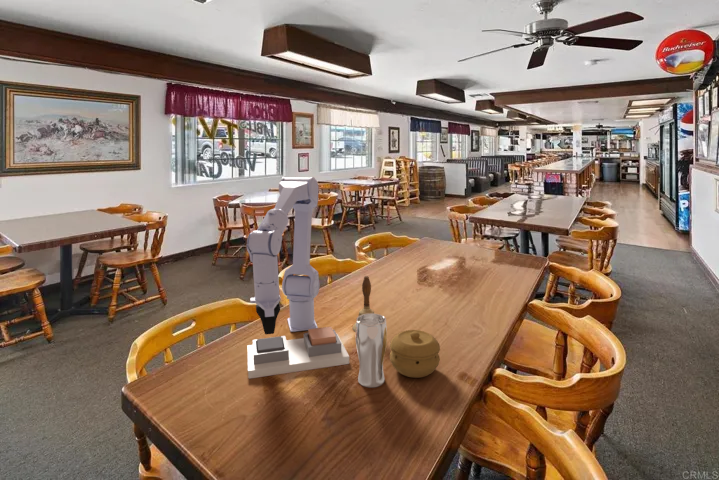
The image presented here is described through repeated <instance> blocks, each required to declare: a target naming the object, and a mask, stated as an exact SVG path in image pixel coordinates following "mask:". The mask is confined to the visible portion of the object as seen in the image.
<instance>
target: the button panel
mask: <svg viewBox="0 0 719 480" xmlns="http://www.w3.org/2000/svg"><path fill="white" fill-rule="evenodd" d="M332 330H333V332H334V334H335V336H336V343H328V344H321V345H313V346H311V344H310V341H309V334H308V332H304V333H303V337H301V338H294V339H288V340H287V337H286V335H281V338H282V343H283V348H284V349H283V350H276V351H268V352H261V353H258V346H257V338H256V339H255V338H254V339H252V344H248V345H246V347H247V349H246V350H247V377H248V380H250V379H256V378H262V377H268V376H275V375H276V376H277V375H283V374H289V373H296V372H301V371H304V372H305V371H309V370H316V369H324V368H330V367H335V366H341V365H349V364H350V355H349V353H348V351H347V349H346V347H345V345H344V344H343V341H342V340H341V338H340V336H339V334H338V333H337V332H336V330H335V329H332ZM278 337H280V336H278ZM264 338H265V337H264ZM264 338H262V339H264ZM270 338H272V337H270Z"/></svg>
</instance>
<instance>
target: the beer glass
mask: <svg viewBox="0 0 719 480" xmlns="http://www.w3.org/2000/svg"><path fill="white" fill-rule="evenodd" d="M355 323H356V332H355V345H356V346H355V347H356V351H357V356H358V362H359V372H358V376H357V381H358V383H359V385H361V386H363V387H365V388H369V389H370V388H373V389H374V388H378V387H380V386H382V385H383V384H384V383H385V373H384V360H385V354H386V349H387V345H388V341H387V340H388V330H387V318H386V316H384V315H382V314H380V313H379V314H378V313H375V312H374V313H368V314H363V315H360V316H359V315H358V316H357V317H356V322H355Z"/></svg>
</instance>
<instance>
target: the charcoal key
mask: <svg viewBox="0 0 719 480" xmlns="http://www.w3.org/2000/svg"><path fill="white" fill-rule="evenodd" d="M281 336H282V335H281ZM281 336H280V337H279V336H273V337H272V338H271V337H266V338H265V337H264V339H263V338H258V339H257V338H256V339H257V346H258V353H261V352H268V351H276V350H283V349H284V348H283V343H282V338H281Z"/></svg>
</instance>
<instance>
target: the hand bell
mask: <svg viewBox="0 0 719 480" xmlns="http://www.w3.org/2000/svg"><path fill="white" fill-rule="evenodd" d="M371 283H372V282H371V281H370V278H369V276H367V275H365V276H364V277H363V281H362V285H361V292H362V295H363V308H361V309H360V310H359V311H358V316H360V315H363V314H368V313H374V314H375V311H374V309H372V308H371V306H370V304H371V303H370V296H371V292H372V284H371ZM352 330H353V331H354V332H355V333H356V322H355V323H354V324H353V325H352Z"/></svg>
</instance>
